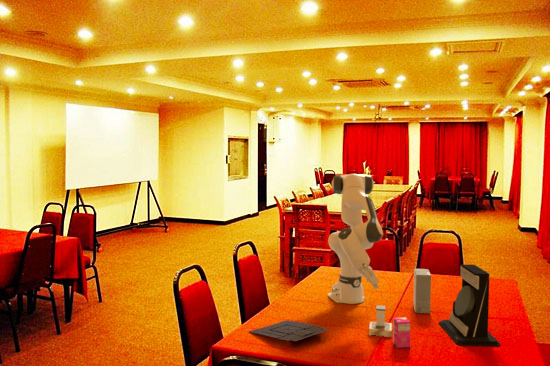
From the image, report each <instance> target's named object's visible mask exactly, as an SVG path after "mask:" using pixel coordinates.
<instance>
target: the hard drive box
mask: <svg viewBox="0 0 550 366" xmlns="http://www.w3.org/2000/svg"><path fill="white" fill-rule="evenodd" d="M431 289H432V274H431V272H430V270H429V269H428V268H427V269H426V268H414V269H413V297H412V298H413V300H412V301H413V302H412V304H413V309H414V313H417V314H431V300H432V299H431V298H432V297H431V294H432V293H431V292H432V291H431Z"/></svg>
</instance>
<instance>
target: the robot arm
mask: <svg viewBox="0 0 550 366" xmlns="http://www.w3.org/2000/svg"><path fill="white" fill-rule="evenodd" d="M374 186H375V183H374V180H373V177H372V176H371V175H370V174H359V173H358V174H357V173H350V174H336V175H334V176H333V179H332V181H331V188H332V189H331V190H332V191H333V193H334V194H335V195H341V204H340V205H341V208H340V210H341V212H340V213H341V215H340V217H341V221H342V222H343V223H345V224H346V225H348V226H350V227H345V228H343V229H342V230H339V231H335V232H332V233H331V234H329V236H328V240H327V241H328V246H329V248H330V249H331V250H332V251H334V252H335V254H336V255H337V256H338V259H339V262H340V263H339V264H340V274H339V275H338V281H336V282H335V283H334V284H332V286H331V292H328V293H327V297H329V298H330V299H332V300H333V301H334V302H335V303H337V304H347V305H349V304H350V305H351V304H352V305H354V304H361V303H363V302H364V301H365V299H366V297H365V295H364V287H363V284H362V280H363V278H362V277H364V278H365V280H366V282H368V283H370V284H371V285H372V287H373V289H374V290H377V289H378V290H379V286H378V283H379V281H380V280H379V278H378V276H377V275H376V272H374V270H373V268H372V267H371V266H370V262H371V258H370V257H369V255H368V253H367V251H366V250H368V249H372V247H373V245H374V243H378V242H379V241H381V239H382V238H383V236H384V232H383V228H382V226H381V224H380V223H381V222H380V221H379V217H378V214H377V210H376V207H375V205H374V202H373V200H372V198H371V197H370V196H369V194H371V193H372V192H373V189H374ZM363 211H365V213H366V217H367V221H365V222H363V216H362V215H363V214H362V212H363Z"/></svg>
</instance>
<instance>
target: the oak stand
mask: <svg viewBox="0 0 550 366" xmlns="http://www.w3.org/2000/svg"><path fill="white" fill-rule="evenodd" d="M371 335H376V336H375V337H383V336H384V337H385V338H393V323H392V322H385V328H381V327H376V321H369V327H368V336H371ZM384 337H383V338H384Z"/></svg>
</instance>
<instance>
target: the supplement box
mask: <svg viewBox="0 0 550 366" xmlns="http://www.w3.org/2000/svg"><path fill="white" fill-rule="evenodd" d="M392 322H393V323H392V338H393V339H392V340H393V342H392V343H394V344H395V345H396V346H395V345H394V346H395V347H396V348H397V349H398V348H402V349H411V321H410V320H409V319H407V317H406V316H404V317H393V321H392Z"/></svg>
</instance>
